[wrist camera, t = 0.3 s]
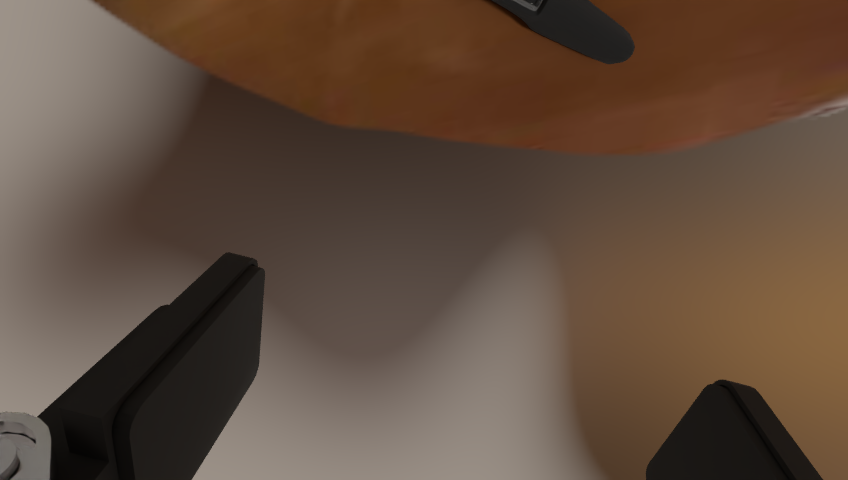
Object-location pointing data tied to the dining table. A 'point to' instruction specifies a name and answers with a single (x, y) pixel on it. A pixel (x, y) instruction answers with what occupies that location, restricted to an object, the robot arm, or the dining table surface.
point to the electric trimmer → (575, 27)
